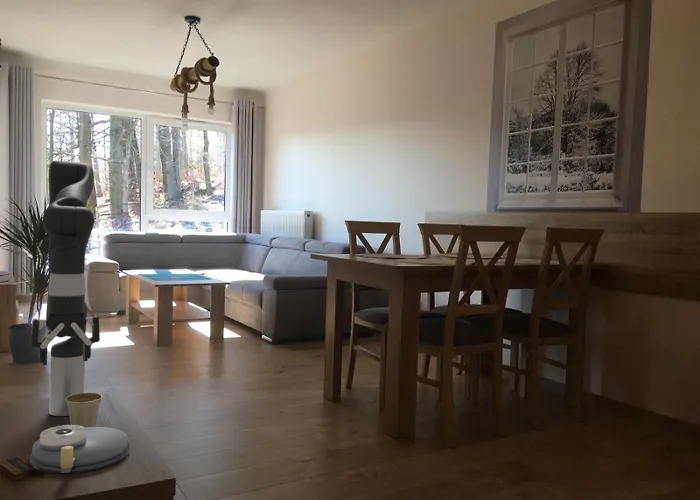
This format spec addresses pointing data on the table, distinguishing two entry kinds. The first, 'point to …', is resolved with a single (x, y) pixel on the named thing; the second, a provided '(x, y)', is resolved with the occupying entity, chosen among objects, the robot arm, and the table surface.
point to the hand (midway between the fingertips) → (65, 362)
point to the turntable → (85, 450)
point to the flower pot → (83, 408)
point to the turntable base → (81, 468)
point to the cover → (63, 437)
